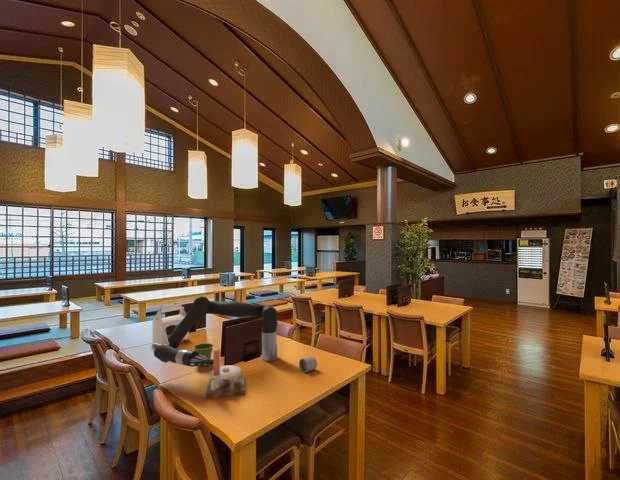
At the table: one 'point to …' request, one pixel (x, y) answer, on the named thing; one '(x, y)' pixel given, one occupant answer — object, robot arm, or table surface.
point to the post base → (226, 387)
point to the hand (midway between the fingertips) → (213, 362)
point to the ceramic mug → (307, 364)
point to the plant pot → (204, 349)
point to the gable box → (166, 323)
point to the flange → (222, 370)
